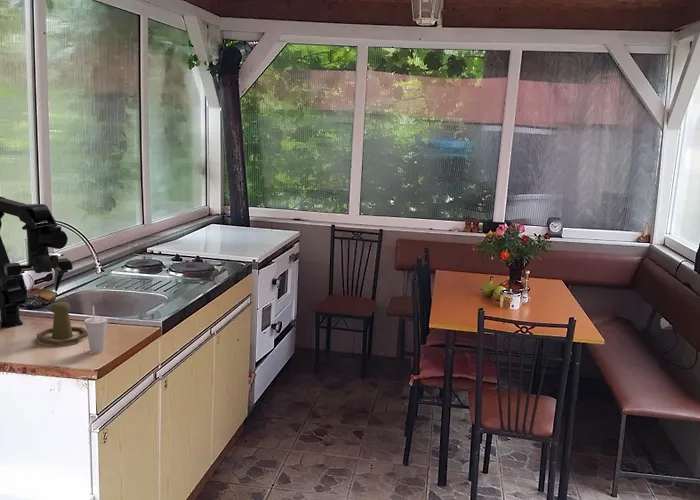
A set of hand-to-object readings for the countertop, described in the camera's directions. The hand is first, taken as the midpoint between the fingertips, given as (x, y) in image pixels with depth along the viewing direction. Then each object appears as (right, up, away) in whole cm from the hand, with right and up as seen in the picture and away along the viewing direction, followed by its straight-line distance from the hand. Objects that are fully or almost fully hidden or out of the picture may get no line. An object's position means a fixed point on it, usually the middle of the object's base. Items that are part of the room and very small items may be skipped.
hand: (40, 293), depth 203 cm
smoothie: (+22, -17, -11) cm, 30 cm away
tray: (+8, -14, -2) cm, 16 cm away
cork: (+8, -14, -2) cm, 16 cm away
